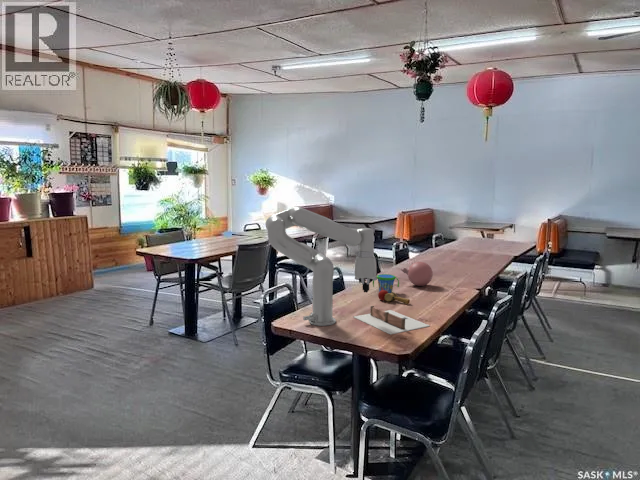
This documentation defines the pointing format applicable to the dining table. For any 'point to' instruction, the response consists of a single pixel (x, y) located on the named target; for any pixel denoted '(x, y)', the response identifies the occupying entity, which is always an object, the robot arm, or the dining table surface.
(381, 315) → the swing panel
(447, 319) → the dining table surface
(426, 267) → the balloon
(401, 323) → the base
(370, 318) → the card
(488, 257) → the dining table surface
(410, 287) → the dining table surface
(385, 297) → the kendama
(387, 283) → the snack cup
